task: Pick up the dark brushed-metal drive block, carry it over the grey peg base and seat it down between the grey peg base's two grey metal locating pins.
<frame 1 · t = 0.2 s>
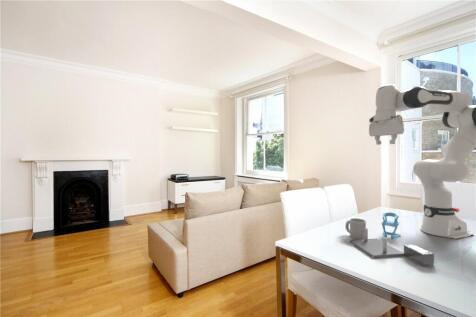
hand: (385, 144, 120), 48 cm above the table, fingers open, 8 cm apart
cup: (355, 237, 121), on the table
chair: (390, 236, 120), on the table
drive: (418, 261, 94), on the table
grey peg base: (374, 248, 106), on the table
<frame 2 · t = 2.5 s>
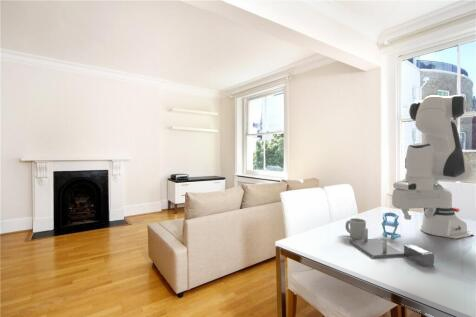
hand: (418, 218, 93), 17 cm above the table, fingers open, 8 cm apart
nothing on the table moved.
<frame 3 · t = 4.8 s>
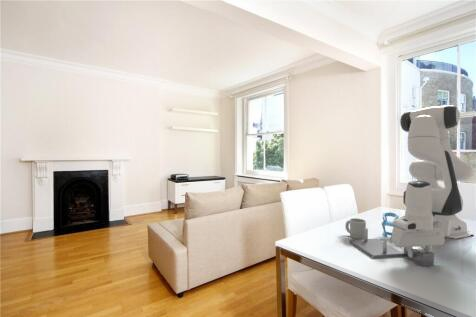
hand: (418, 256, 94), 2 cm above the table, fingers closed on drive, 4 cm apart
drive: (418, 261, 94), on the table, touching gripper
everything else where it was.
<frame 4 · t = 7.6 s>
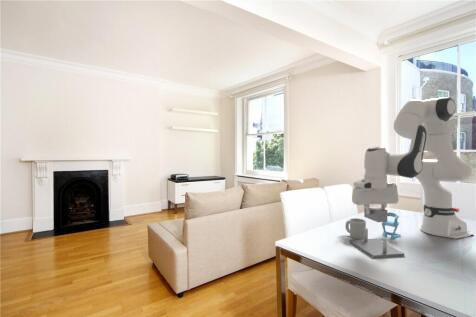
hand: (375, 213, 105), 16 cm above the table, fingers closed on drive, 4 cm apart
drive: (375, 219, 105), point 14 cm above the table, touching gripper
everything else where it was.
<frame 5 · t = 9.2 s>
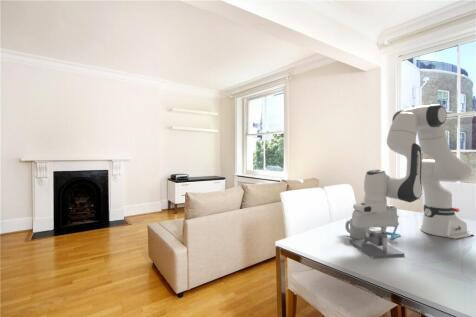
hand: (374, 236, 105), 6 cm above the table, fingers closed on drive, 4 cm apart
drive: (375, 241, 105), point 3 cm above the table, touching gripper
everything else where it was.
when the fingers open (4 cm above the table, at t = 10.5 s): drive stays where it is, resting on grey peg base.
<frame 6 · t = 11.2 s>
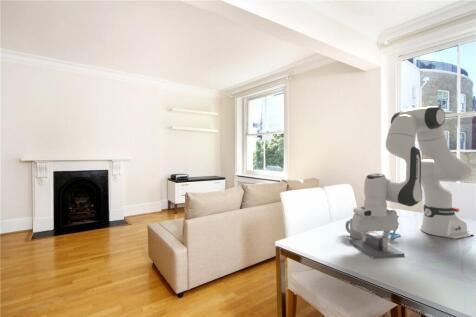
hand: (375, 240, 106), 4 cm above the table, fingers open, 8 cm apart
drive: (375, 246, 105), point 1 cm above the table, touching grey peg base
everything else where it was.
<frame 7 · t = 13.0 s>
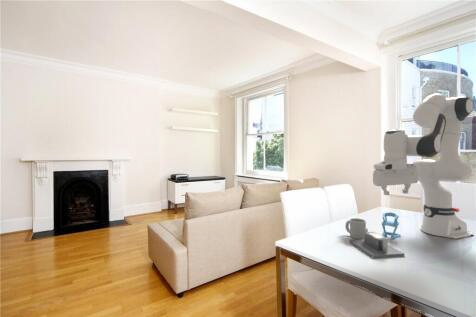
hand: (395, 194, 108), 24 cm above the table, fingers open, 8 cm apart
nothing on the table moved.
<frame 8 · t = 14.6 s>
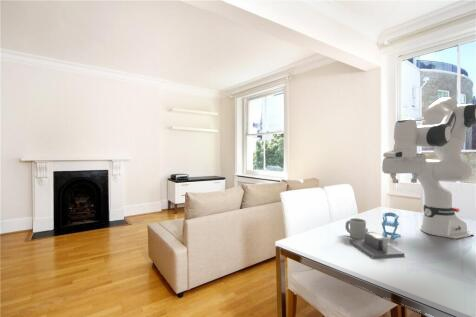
hand: (404, 182, 109), 29 cm above the table, fingers open, 8 cm apart
nothing on the table moved.
at the end: drive 0.1 cm off-centre on the grey peg base, point 1.2 cm above the grey peg base's base; drive tilted 0°; the gripper is holding nothing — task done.
